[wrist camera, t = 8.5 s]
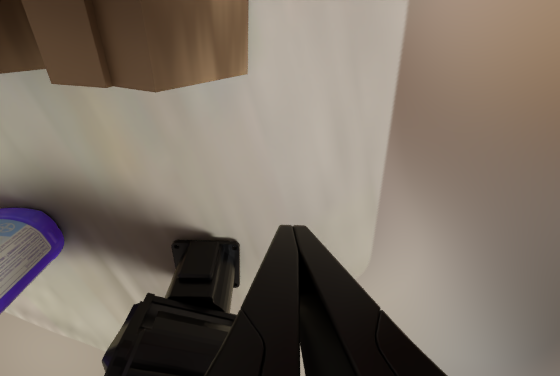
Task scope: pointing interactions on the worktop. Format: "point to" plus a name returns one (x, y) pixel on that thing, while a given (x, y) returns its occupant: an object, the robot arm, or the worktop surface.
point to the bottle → (25, 249)
